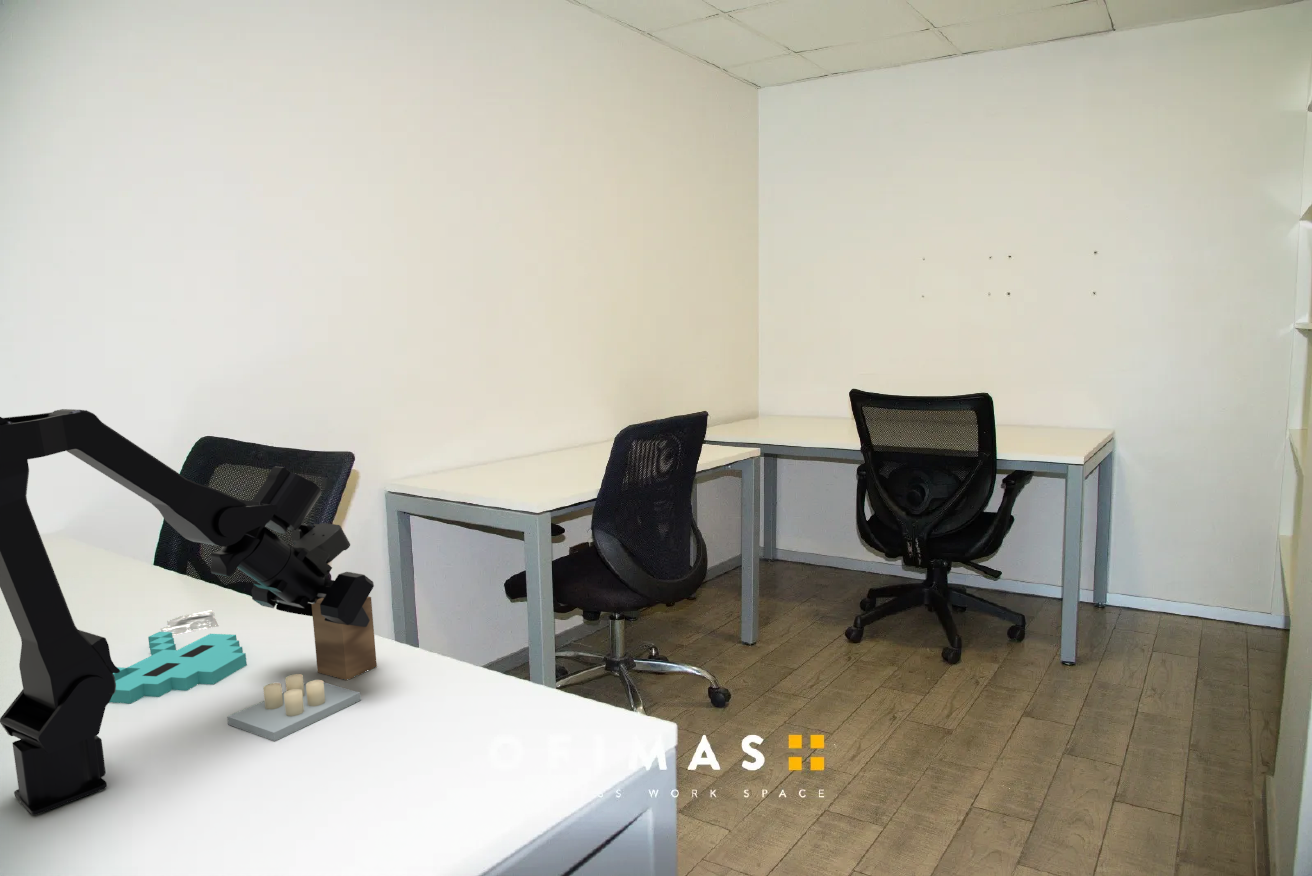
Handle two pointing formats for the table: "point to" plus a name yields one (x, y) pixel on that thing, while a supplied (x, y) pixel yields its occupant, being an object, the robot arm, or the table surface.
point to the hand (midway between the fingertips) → (351, 620)
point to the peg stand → (292, 707)
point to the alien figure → (178, 666)
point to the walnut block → (343, 645)
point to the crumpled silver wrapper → (191, 623)
